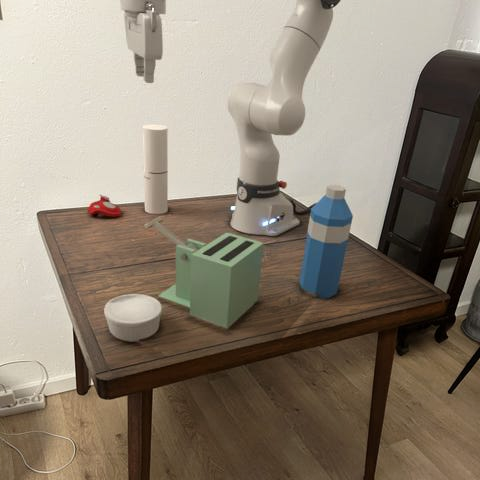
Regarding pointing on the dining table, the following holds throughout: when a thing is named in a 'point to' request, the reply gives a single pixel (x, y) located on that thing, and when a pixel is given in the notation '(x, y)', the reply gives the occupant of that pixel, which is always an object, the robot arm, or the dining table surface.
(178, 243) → the lever
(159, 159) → the cylindrical container
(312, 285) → the water bottle
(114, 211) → the tracker holder
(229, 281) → the toaster
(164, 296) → the switch bracket
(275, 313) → the dining table surface
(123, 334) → the ramekin
